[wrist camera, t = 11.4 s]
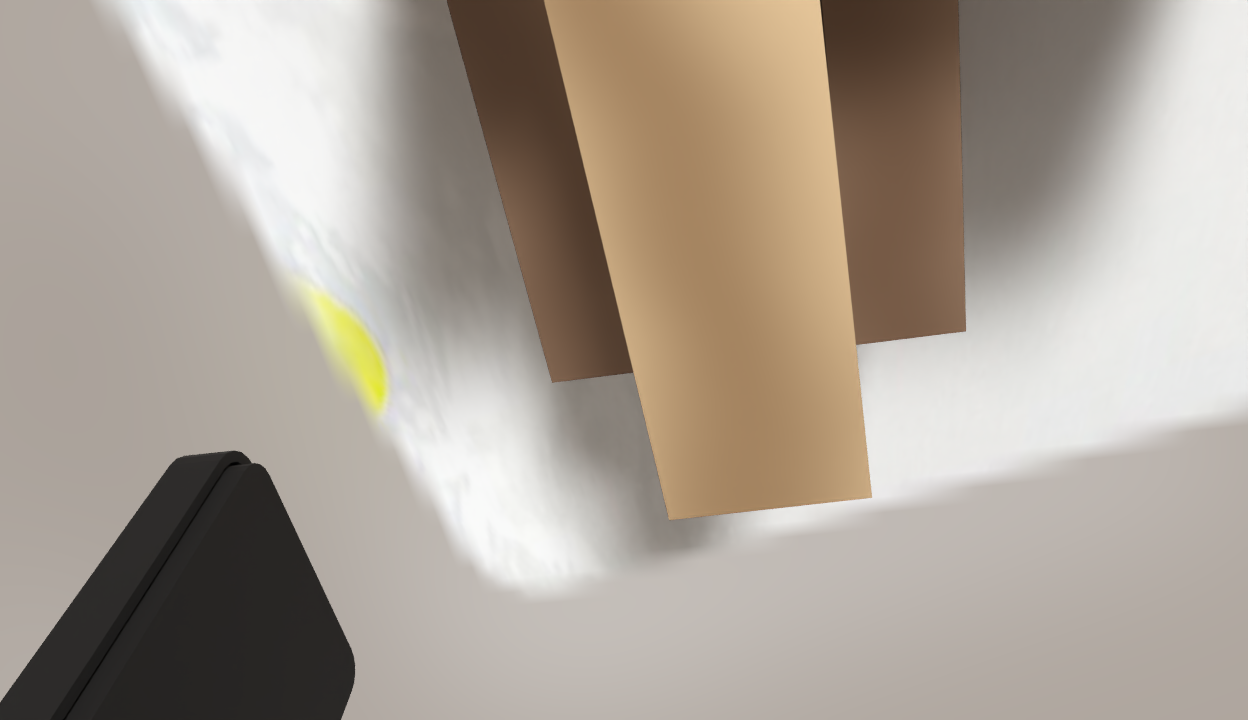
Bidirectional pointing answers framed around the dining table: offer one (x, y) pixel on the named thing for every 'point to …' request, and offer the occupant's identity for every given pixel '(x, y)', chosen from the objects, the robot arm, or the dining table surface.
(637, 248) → the tan grey block
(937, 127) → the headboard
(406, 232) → the dining table surface
